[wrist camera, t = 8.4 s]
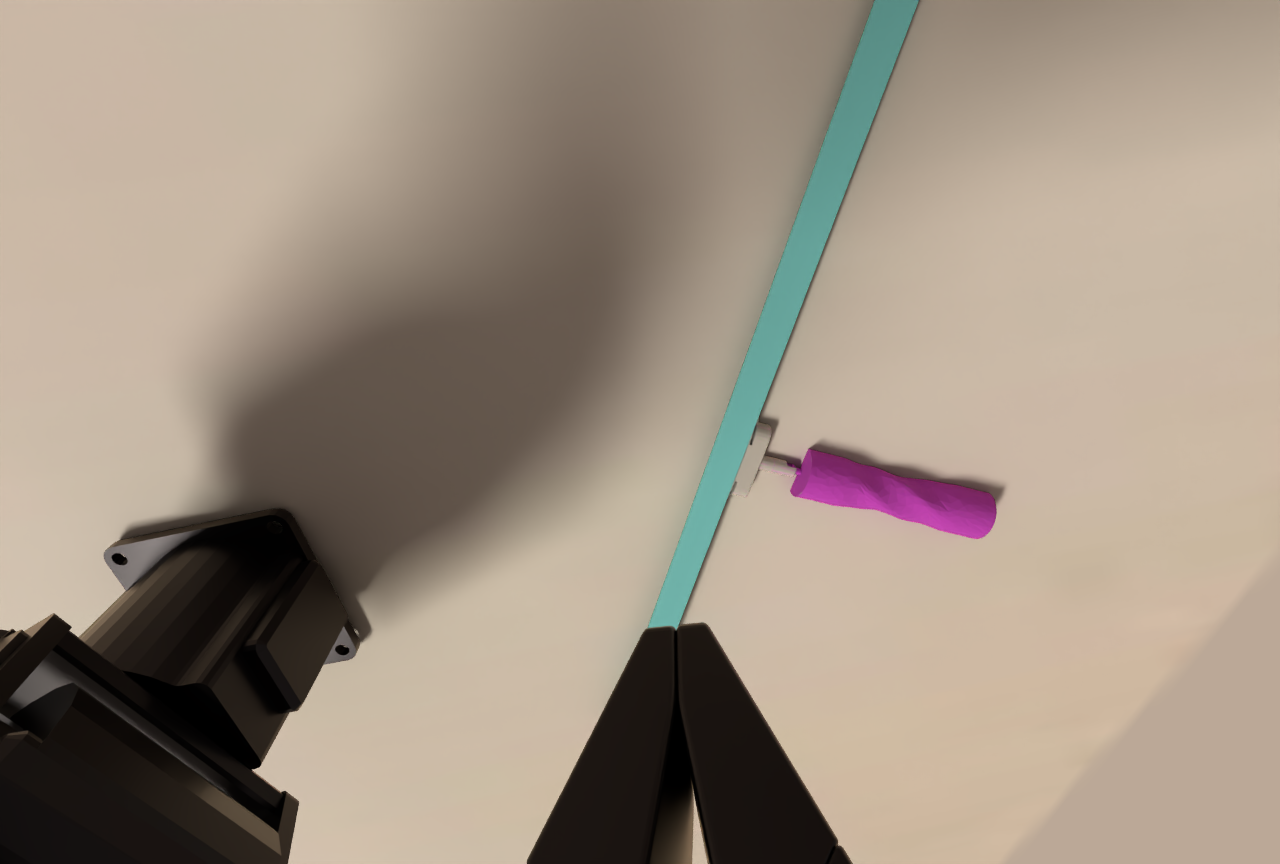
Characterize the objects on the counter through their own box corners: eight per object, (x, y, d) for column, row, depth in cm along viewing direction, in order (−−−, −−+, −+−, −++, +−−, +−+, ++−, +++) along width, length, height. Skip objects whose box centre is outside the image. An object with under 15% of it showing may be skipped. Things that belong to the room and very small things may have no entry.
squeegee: (842, 784, 27) (607, 744, 26) (829, 749, 29) (608, 710, 27) (1302, -3, 16) (933, -150, 15) (1242, 9, 18) (903, -124, 16)
